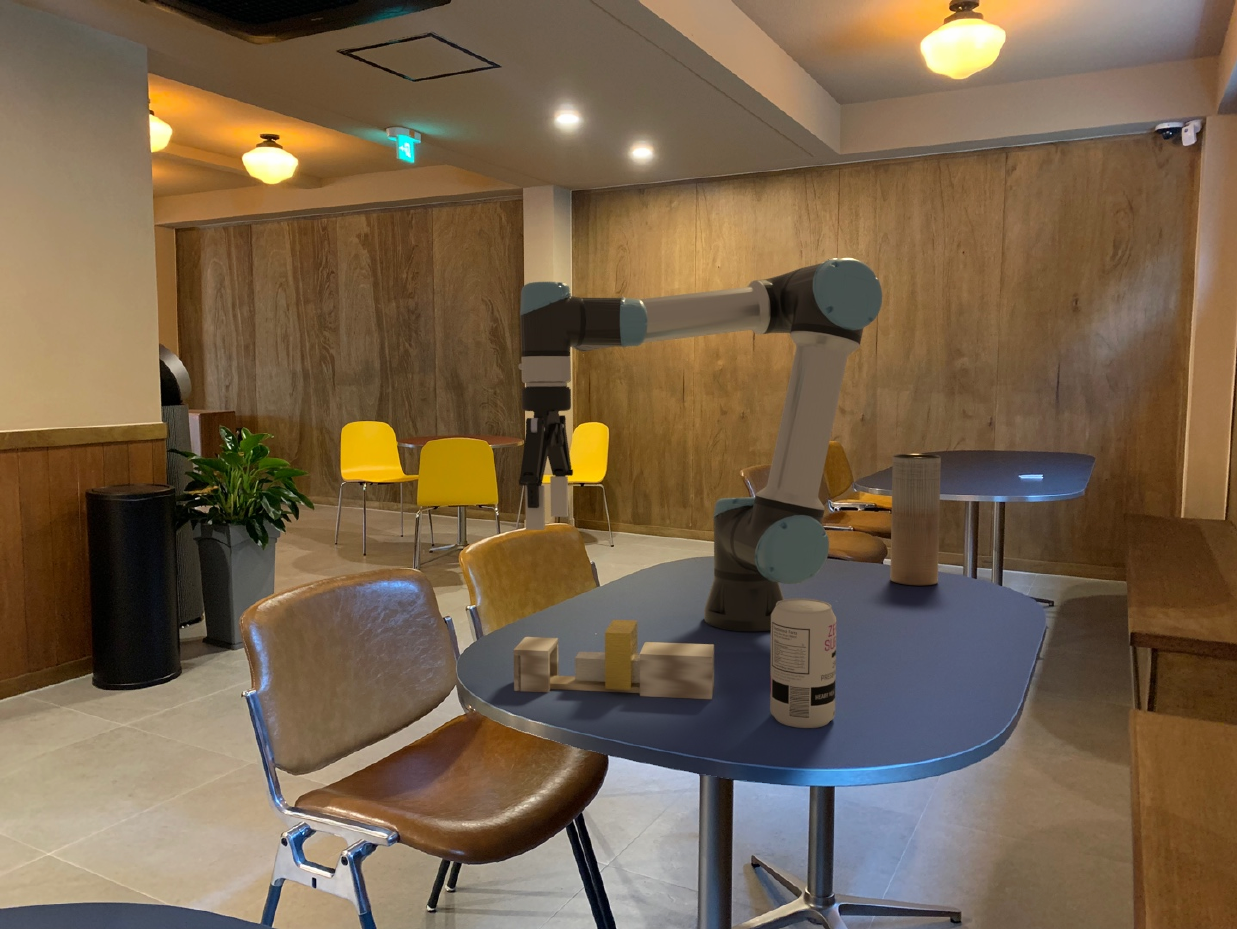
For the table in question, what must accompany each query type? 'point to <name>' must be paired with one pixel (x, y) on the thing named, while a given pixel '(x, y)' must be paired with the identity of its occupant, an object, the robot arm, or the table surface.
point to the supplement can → (803, 663)
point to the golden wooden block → (614, 658)
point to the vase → (915, 519)
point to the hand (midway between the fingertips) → (548, 522)
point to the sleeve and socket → (660, 676)
